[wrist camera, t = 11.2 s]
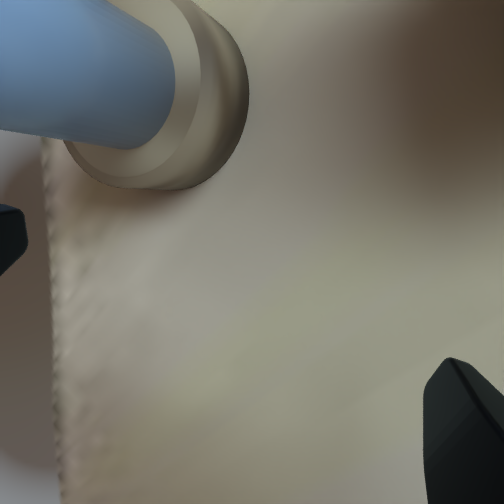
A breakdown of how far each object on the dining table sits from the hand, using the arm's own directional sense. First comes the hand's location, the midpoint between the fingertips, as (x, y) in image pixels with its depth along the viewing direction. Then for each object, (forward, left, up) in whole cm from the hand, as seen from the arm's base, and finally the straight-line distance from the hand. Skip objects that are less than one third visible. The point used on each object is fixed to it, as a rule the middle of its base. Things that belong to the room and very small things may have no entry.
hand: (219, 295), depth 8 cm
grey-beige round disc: (+7, +9, -11) cm, 16 cm away
